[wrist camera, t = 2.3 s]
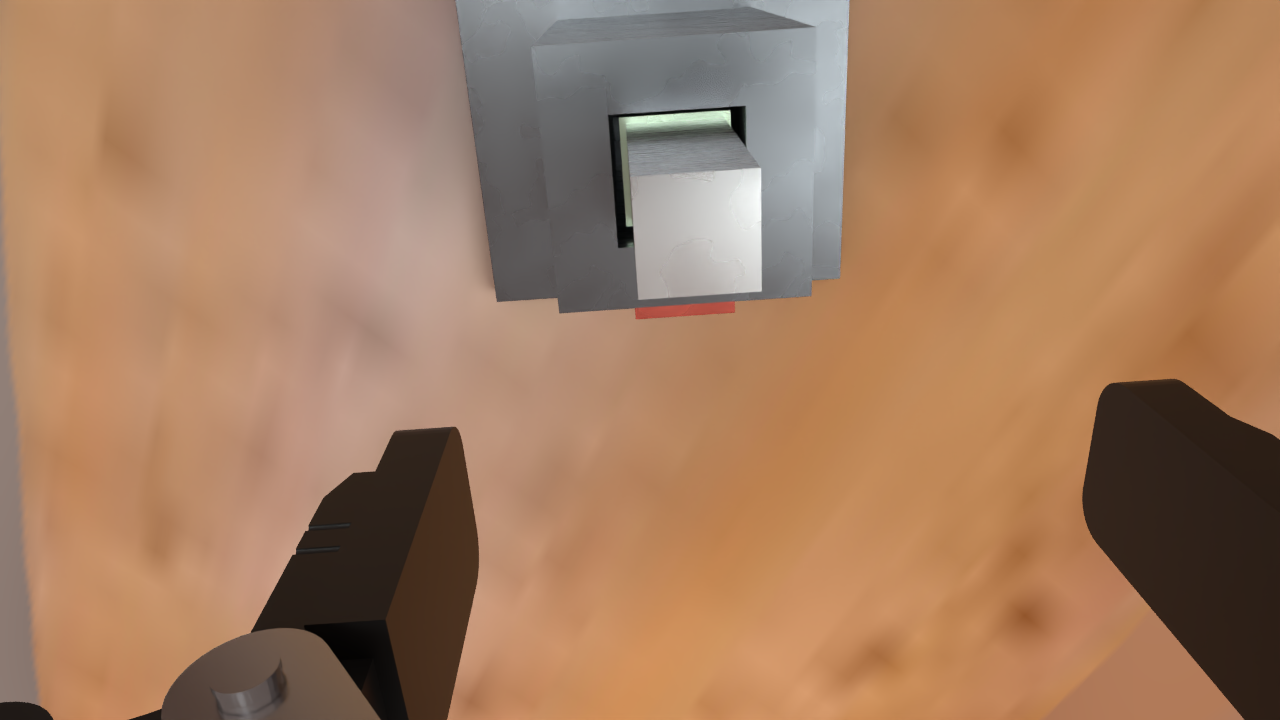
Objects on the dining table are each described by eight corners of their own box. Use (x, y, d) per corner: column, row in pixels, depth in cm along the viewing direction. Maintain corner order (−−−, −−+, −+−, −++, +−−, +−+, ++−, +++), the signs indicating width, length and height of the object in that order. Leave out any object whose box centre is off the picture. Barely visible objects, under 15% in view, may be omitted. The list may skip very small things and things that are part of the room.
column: (698, 71, 36) (769, 158, 20) (701, 153, 38) (769, 298, 21) (617, 76, 36) (620, 168, 20) (622, 158, 38) (630, 308, 21)
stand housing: (843, -108, 36) (973, -147, 23) (832, 268, 42) (928, 399, 29) (450, -81, 36) (360, -106, 23) (500, 290, 42) (452, 432, 29)
